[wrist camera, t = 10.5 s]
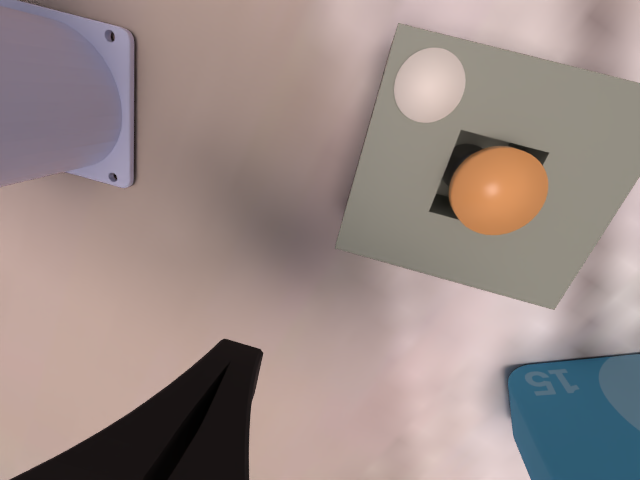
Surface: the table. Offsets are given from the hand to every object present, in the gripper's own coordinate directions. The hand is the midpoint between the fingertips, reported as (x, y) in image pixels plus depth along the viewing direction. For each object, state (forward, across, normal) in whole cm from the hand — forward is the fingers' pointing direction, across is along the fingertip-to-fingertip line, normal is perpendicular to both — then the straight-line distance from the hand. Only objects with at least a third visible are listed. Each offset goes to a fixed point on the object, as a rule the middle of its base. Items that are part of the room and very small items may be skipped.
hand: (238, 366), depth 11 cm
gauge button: (+8, -7, -7) cm, 12 cm away
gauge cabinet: (+9, -6, -7) cm, 13 cm away
